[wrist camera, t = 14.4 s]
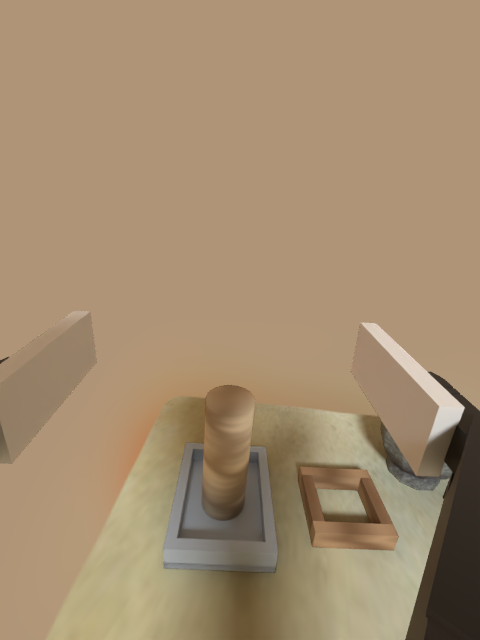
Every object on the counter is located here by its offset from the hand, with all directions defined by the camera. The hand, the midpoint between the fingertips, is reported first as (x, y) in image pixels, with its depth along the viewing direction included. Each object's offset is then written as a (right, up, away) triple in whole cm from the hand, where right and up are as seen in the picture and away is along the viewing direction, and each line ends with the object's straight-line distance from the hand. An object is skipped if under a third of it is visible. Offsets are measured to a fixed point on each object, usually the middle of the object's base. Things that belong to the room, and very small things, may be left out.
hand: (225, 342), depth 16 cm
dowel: (-1, -18, +19) cm, 26 cm away
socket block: (+12, -20, +19) cm, 30 cm away
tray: (-1, -19, +19) cm, 27 cm away
